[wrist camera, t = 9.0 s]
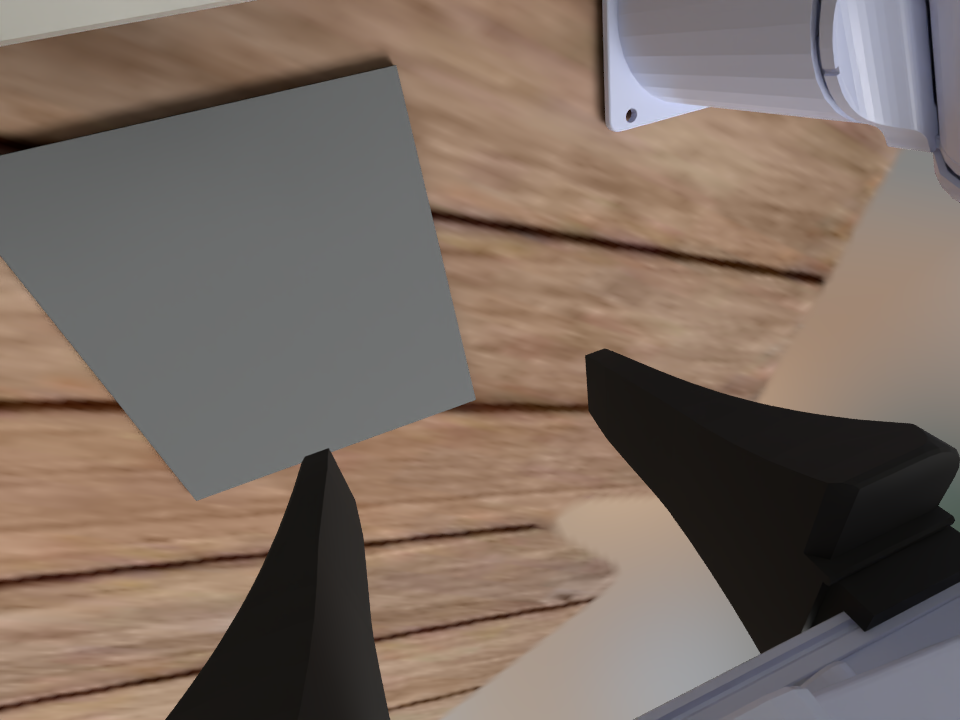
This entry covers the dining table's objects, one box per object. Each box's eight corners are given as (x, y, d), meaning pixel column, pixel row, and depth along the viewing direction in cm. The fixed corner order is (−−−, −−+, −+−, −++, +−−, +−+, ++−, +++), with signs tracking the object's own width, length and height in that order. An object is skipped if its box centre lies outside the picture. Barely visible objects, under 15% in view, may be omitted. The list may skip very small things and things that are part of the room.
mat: (394, 65, 17) (396, 65, 16) (473, 395, 25) (475, 399, 25) (-60, 168, 14) (-67, 171, 14) (197, 494, 23) (196, 500, 23)
